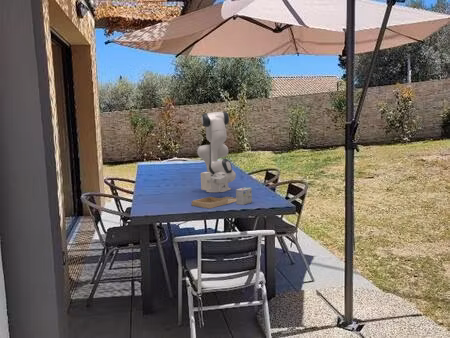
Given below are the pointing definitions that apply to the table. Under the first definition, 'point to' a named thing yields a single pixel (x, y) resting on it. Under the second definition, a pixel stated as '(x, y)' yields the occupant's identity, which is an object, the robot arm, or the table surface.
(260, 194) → the table surface
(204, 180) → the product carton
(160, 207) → the table surface
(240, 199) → the light bulb box
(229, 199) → the tray
